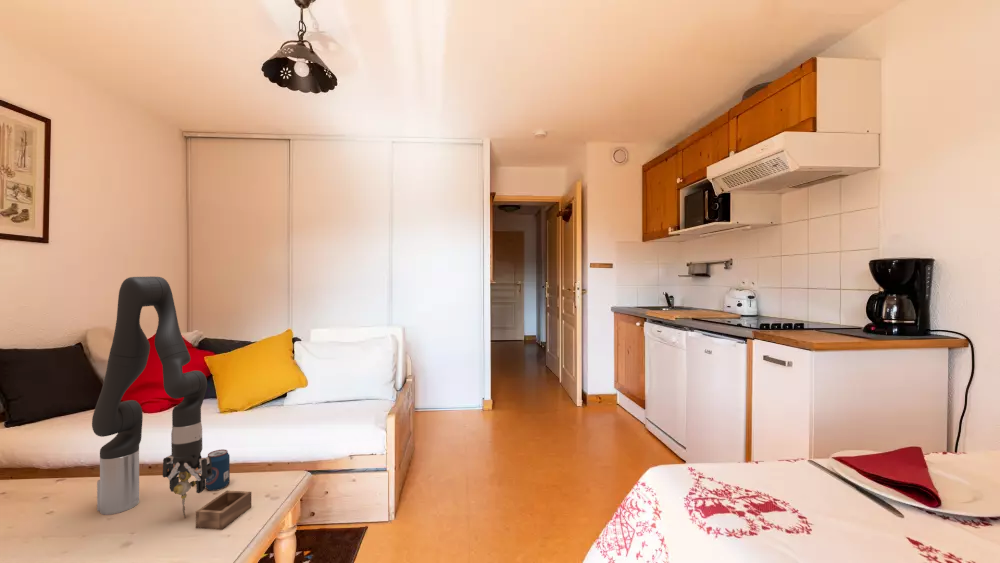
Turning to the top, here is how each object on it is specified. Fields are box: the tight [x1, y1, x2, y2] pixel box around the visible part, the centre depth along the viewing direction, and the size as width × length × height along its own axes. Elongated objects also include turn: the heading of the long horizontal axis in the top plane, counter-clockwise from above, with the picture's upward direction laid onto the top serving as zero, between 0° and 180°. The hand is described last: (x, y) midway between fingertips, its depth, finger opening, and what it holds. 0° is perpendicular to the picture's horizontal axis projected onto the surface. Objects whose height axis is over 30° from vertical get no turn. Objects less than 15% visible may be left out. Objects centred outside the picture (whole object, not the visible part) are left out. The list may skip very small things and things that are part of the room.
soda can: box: [205, 449, 231, 492], centre depth 145 cm, size 7×7×12 cm
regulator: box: [172, 471, 197, 519], centre depth 126 cm, size 8×4×15 cm, turn 168°
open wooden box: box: [195, 490, 252, 531], centre depth 126 cm, size 8×12×5 cm
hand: (187, 491), depth 126 cm, fingers open, 8 cm apart
